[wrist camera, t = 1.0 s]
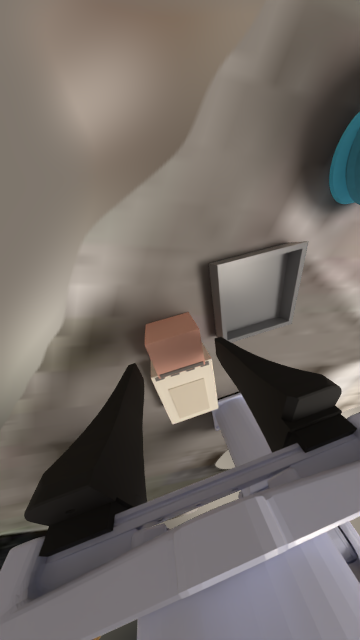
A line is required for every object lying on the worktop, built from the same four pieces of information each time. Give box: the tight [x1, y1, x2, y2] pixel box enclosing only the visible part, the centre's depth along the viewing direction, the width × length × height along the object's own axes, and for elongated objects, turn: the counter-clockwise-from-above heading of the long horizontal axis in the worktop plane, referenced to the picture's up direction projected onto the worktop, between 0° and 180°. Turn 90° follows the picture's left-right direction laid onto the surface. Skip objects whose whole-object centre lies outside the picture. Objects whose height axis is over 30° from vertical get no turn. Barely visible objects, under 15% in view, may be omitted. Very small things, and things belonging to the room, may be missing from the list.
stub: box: [145, 312, 205, 379], centre depth 15 cm, size 4×5×4 cm
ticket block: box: [151, 343, 218, 424], centre depth 19 cm, size 10×7×3 cm
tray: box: [209, 241, 308, 342], centre depth 15 cm, size 9×9×2 cm
